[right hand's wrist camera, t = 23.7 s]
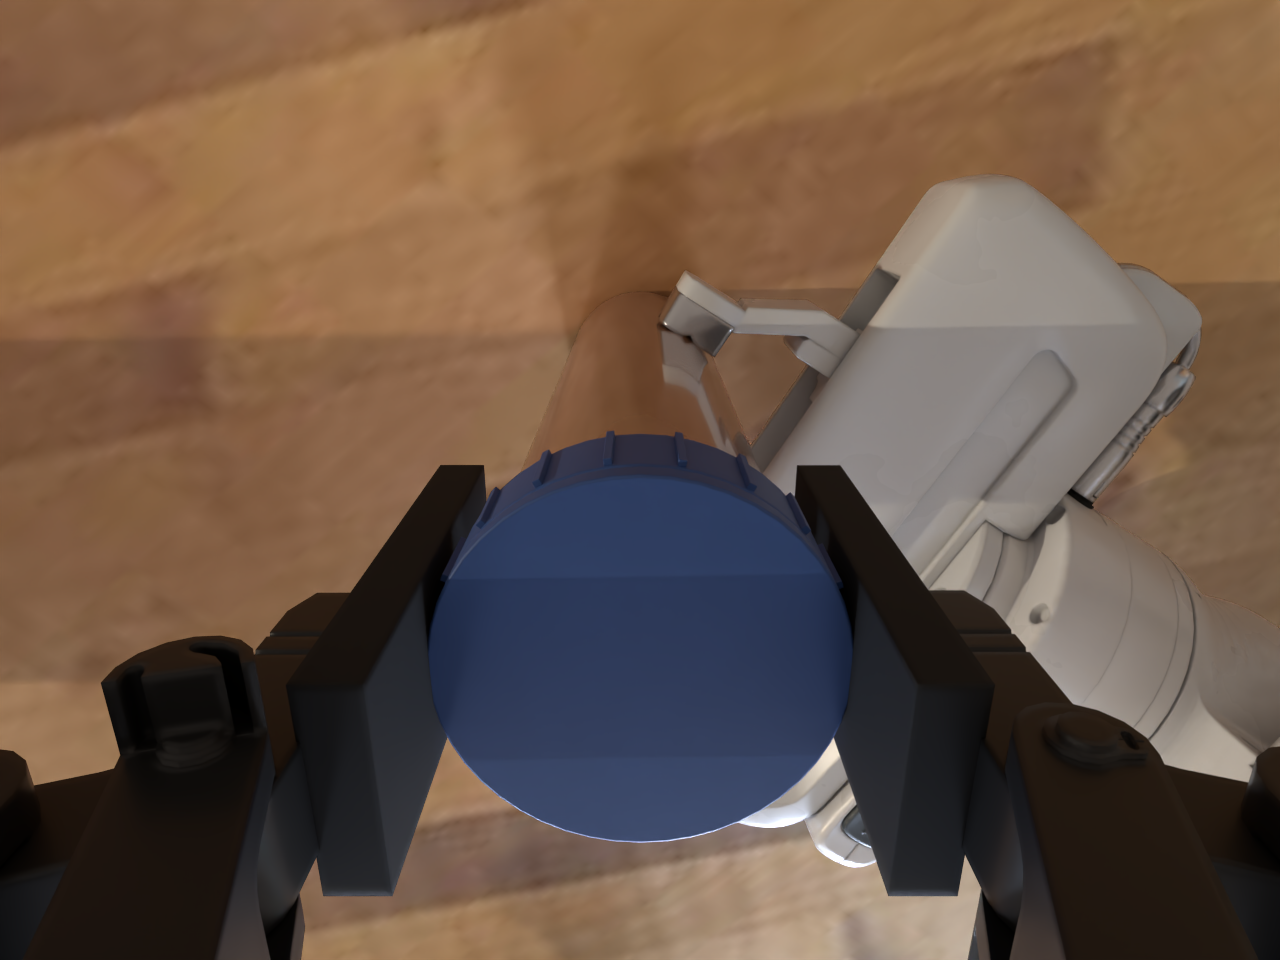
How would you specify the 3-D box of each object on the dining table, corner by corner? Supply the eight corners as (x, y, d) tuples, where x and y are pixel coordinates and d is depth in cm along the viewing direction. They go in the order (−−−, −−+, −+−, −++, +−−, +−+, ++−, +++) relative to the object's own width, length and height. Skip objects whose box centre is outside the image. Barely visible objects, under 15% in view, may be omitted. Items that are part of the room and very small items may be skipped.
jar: (662, 264, 28) (701, 407, 10) (732, 380, 29) (874, 685, 11) (546, 338, 29) (396, 590, 11) (619, 448, 30) (591, 828, 12)
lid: (755, 364, 11) (776, 396, 9) (878, 695, 13) (914, 773, 11) (382, 513, 11) (340, 568, 10) (549, 807, 13) (536, 894, 12)
